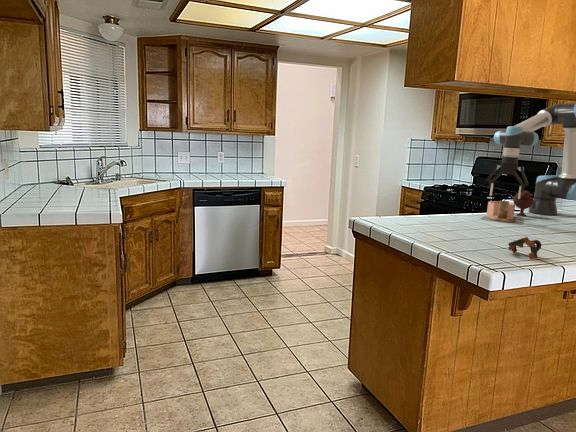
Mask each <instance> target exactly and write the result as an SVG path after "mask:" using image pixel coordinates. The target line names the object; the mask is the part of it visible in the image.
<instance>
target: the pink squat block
mask: <svg viewBox="0 0 576 432" xmlns="http://www.w3.org/2000/svg"><path fill="white" fill-rule="evenodd" d="M500 201H501V200H499V201H496V200H494V201H492V200H490V201H488V202H487V209H486V216H498V211H499V204H500ZM515 209H516V205H515V204H514V202H513V203H512V202H509V206H508V213H507V217H511V218H514V216H515Z"/></svg>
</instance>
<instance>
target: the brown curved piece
mask: <svg viewBox="0 0 576 432" xmlns="http://www.w3.org/2000/svg"><path fill="white" fill-rule="evenodd" d="M507 244H508V250H510V251H512V252H513V253H514V254H515V253H517V251H518V249H517V247H518V248H519V247H520V248H524V244H526V246H527V247H528V248H529V249H530V253H527V255H528V257H529V258H528V259H529V260H534V259H537V258H538V257H539V256H538V252H539V251H540V250H541V248H542V242H541V241H540V240H538V239H533V240H531V239H529V237H528V236H525V237H522V238H519V239H517V240H514V241H511V242H508V243H507Z"/></svg>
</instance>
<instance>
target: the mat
mask: <svg viewBox="0 0 576 432" xmlns="http://www.w3.org/2000/svg"><path fill="white" fill-rule="evenodd" d="M479 220H481V221H490V222H494V221H493V220H490V219H489V216H487V215H483V216H482V217H480V218H479ZM495 222H497V223H499V222H498V221H495ZM524 222H525V220H520V219H516V222H513V223H510V224H512V225H519V226H520V225H522V224H523V223H524ZM502 223H504V224H509V223H508V222H502Z"/></svg>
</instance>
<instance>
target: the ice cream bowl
mask: <svg viewBox="0 0 576 432" xmlns="http://www.w3.org/2000/svg"><path fill="white" fill-rule="evenodd" d="M518 194H519V192H517V193H516V194H515V195H514V198H512V201H513V204H515V207H516V208H518V209H519V210H520V211H519V213H516V215H515V216H517V217H521V218H522V217H527V215H526V214H525V209H529V207H530V206H532V204H533V203H534V197H533V196H531V193H530V191H529V190H525V189H524V192H523V193H522V192H521V196H520V199H518Z"/></svg>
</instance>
